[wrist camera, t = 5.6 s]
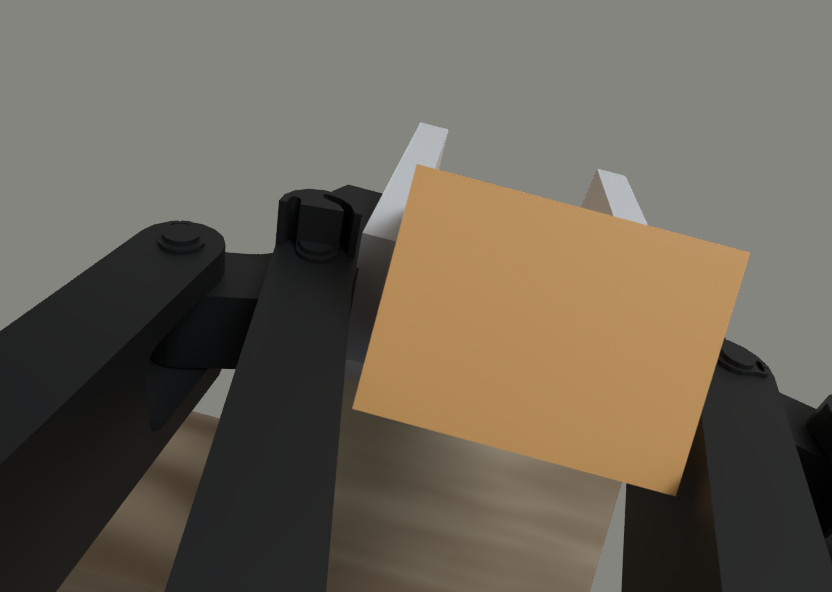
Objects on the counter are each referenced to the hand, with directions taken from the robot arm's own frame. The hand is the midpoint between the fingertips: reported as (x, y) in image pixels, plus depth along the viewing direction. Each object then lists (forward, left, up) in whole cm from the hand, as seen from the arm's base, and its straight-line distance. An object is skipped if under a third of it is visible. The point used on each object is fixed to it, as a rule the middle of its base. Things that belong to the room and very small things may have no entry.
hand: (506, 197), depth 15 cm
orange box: (-2, +4, -4) cm, 6 cm away
